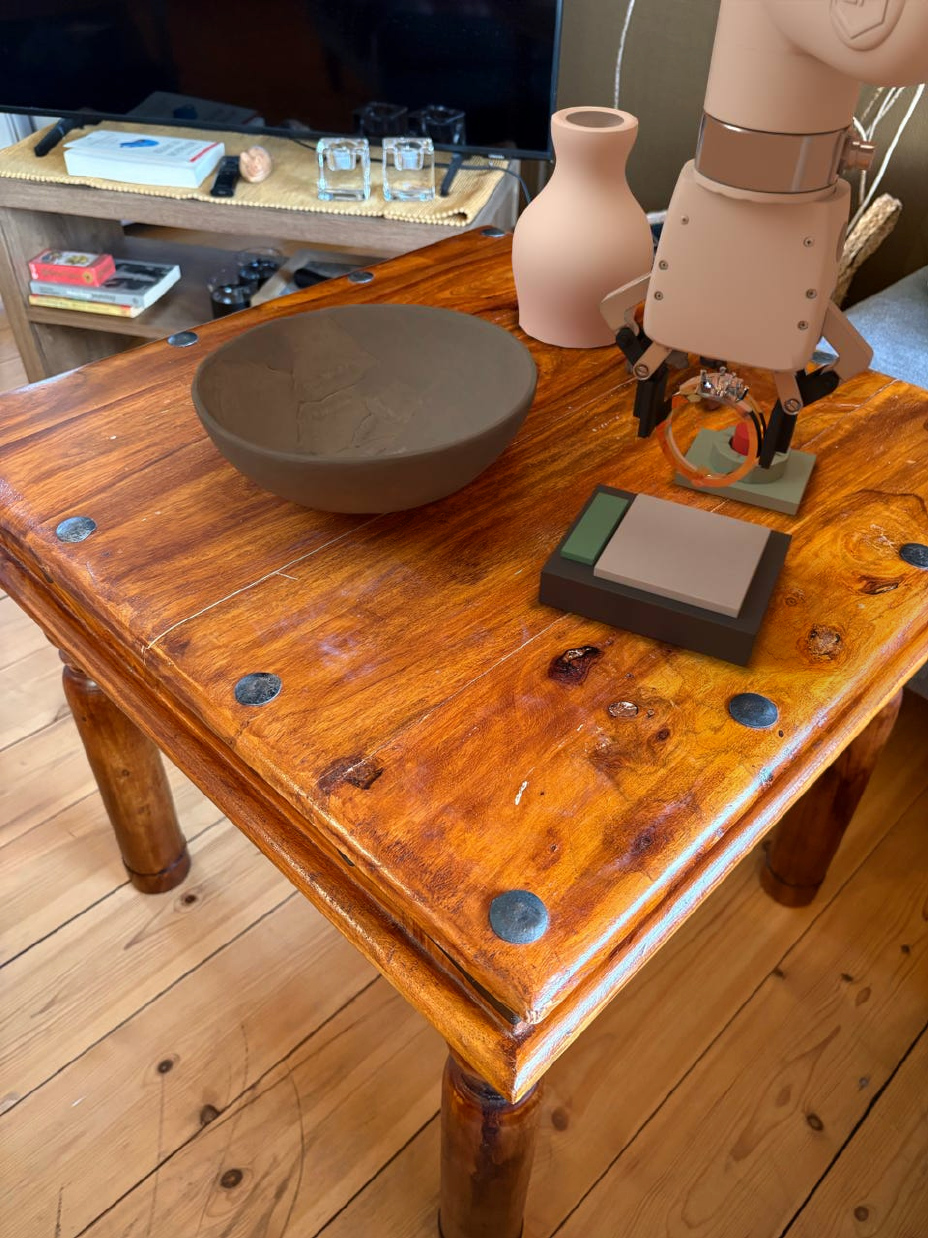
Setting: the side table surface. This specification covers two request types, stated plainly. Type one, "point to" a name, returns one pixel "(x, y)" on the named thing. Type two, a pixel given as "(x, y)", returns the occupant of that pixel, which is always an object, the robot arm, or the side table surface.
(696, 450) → the grey button housing
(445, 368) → the bowl
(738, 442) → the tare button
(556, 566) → the scale
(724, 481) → the ring
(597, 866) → the side table surface
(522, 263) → the vase
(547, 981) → the side table surface
